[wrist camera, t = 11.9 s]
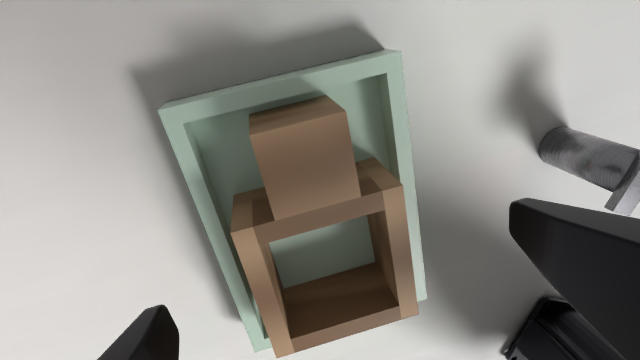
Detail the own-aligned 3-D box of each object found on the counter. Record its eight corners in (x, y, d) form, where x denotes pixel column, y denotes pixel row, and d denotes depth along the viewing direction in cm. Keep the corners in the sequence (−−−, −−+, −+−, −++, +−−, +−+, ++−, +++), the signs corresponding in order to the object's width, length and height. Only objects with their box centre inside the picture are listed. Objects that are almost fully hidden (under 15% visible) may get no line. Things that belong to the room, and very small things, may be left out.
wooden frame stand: (391, 269, 23) (418, 314, 20) (271, 305, 22) (276, 358, 19) (363, 85, 18) (392, 98, 15) (209, 124, 18) (198, 148, 14)
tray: (414, 279, 25) (427, 299, 23) (254, 327, 24) (254, 352, 22) (385, 49, 18) (401, 51, 16) (166, 102, 17) (157, 110, 15)
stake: (587, 120, 22) (686, 146, 17) (554, 178, 23) (637, 218, 18) (558, 109, 22) (652, 133, 17) (526, 170, 23) (604, 209, 18)
